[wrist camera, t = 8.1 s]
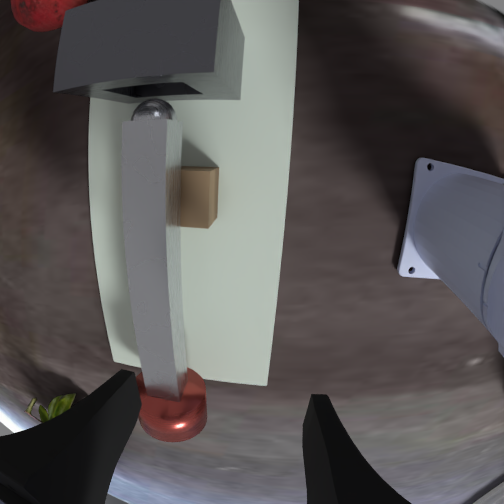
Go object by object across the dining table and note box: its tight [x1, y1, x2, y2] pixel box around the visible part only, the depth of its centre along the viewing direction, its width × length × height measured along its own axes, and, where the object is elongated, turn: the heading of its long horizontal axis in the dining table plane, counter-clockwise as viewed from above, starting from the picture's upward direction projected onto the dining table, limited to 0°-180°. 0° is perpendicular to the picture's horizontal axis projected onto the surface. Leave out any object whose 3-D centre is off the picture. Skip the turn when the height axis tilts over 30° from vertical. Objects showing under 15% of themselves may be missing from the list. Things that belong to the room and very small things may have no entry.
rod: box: [121, 99, 207, 442], centre depth 16 cm, size 5×21×5 cm, turn 177°
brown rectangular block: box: [180, 166, 219, 229], centre depth 17 cm, size 5×3×2 cm, turn 87°
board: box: [88, 0, 299, 386], centre depth 19 cm, size 13×27×1 cm, turn 177°
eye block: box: [53, 0, 245, 104], centre depth 12 cm, size 7×4×7 cm, turn 87°
